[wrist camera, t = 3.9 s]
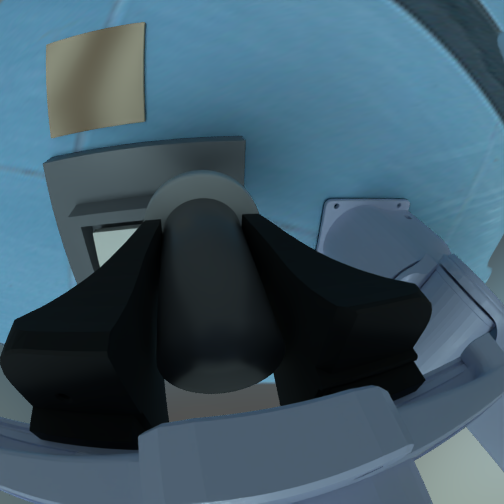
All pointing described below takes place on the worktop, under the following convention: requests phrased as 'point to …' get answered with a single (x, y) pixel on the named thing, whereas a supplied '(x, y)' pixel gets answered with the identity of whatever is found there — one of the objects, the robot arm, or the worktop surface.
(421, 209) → the worktop surface
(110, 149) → the switch panel
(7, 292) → the worktop surface
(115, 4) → the worktop surface
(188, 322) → the dark round-ended cylinder
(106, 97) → the pad
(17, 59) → the worktop surface
